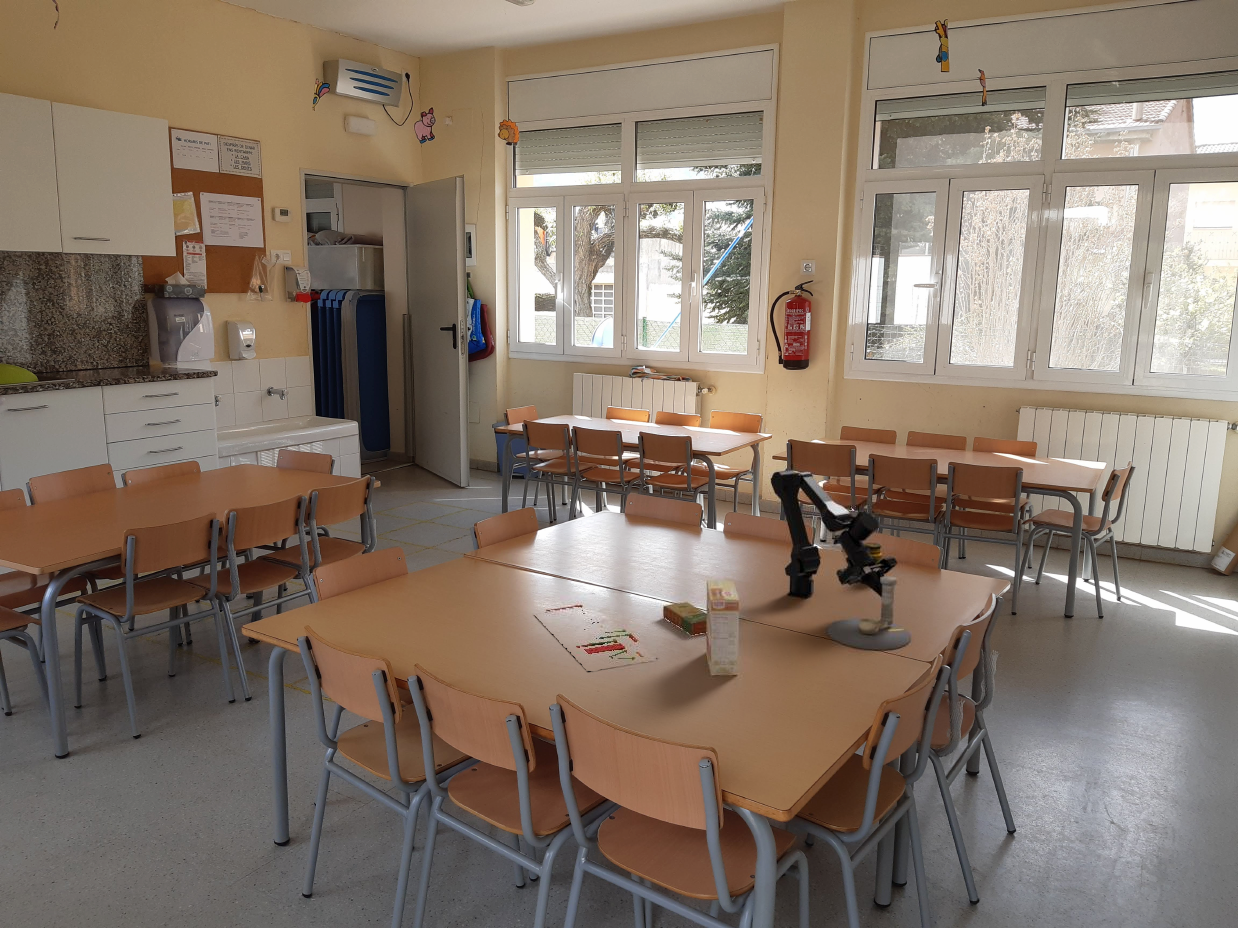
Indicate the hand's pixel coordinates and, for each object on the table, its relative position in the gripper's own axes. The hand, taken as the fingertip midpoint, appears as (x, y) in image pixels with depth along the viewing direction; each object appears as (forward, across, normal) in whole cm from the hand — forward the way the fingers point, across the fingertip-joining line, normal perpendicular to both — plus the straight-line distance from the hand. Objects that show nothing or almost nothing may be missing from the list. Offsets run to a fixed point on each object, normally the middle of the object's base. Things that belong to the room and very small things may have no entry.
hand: (883, 596), depth 247 cm
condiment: (-16, -28, -28) cm, 43 cm away
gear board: (-21, +72, -33) cm, 82 cm away
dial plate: (+8, +8, -4) cm, 12 cm away
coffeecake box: (+3, +54, -8) cm, 55 cm away
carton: (-15, +45, -28) cm, 55 cm away
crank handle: (+7, +5, -4) cm, 9 cm away
